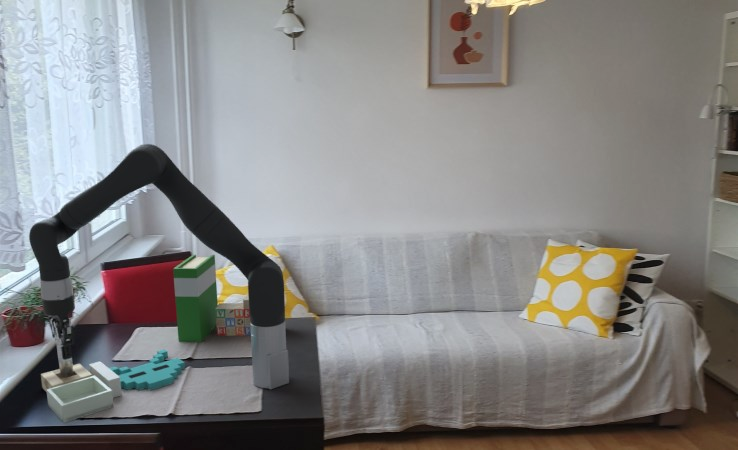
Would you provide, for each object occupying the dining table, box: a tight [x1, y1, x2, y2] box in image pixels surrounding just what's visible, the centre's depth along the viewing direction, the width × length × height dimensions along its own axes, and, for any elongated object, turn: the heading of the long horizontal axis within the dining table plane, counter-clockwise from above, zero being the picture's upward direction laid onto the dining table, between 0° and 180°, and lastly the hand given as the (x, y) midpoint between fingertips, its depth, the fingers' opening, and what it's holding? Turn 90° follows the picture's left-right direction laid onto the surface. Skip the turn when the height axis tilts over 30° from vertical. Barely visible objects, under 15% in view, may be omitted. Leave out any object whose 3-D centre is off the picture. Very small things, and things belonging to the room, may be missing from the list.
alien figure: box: [108, 348, 186, 391], centre depth 182 cm, size 20×2×20 cm
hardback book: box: [172, 254, 219, 343], centre depth 212 cm, size 18×7×24 cm, turn 175°
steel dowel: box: [55, 336, 74, 377], centre depth 173 cm, size 3×3×11 cm
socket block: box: [40, 363, 92, 393], centre depth 174 cm, size 10×10×4 cm
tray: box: [46, 376, 114, 424], centre depth 164 cm, size 12×12×4 cm
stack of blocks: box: [215, 293, 251, 337], centre depth 213 cm, size 21×6×12 cm, turn 91°
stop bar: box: [88, 361, 123, 399], centre depth 174 cm, size 14×3×5 cm, turn 42°
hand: (65, 356), depth 173 cm, fingers closed on steel dowel, 3 cm apart
